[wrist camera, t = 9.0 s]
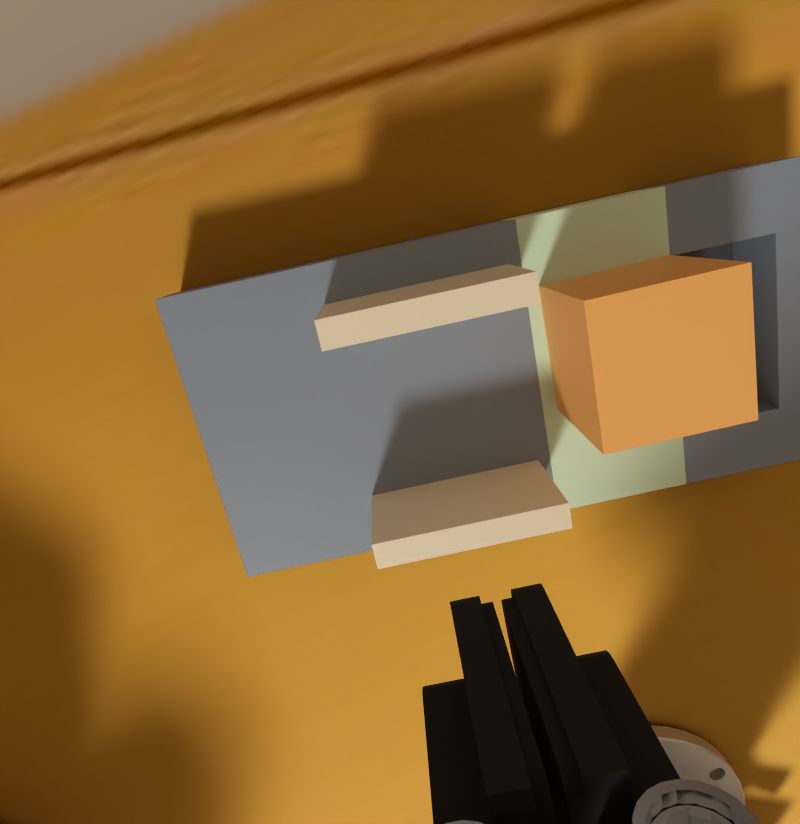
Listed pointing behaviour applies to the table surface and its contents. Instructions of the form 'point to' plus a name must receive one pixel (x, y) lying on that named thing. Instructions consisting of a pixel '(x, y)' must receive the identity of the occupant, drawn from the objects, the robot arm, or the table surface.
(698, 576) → the table surface
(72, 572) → the table surface
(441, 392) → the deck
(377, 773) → the table surface
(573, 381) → the cube
